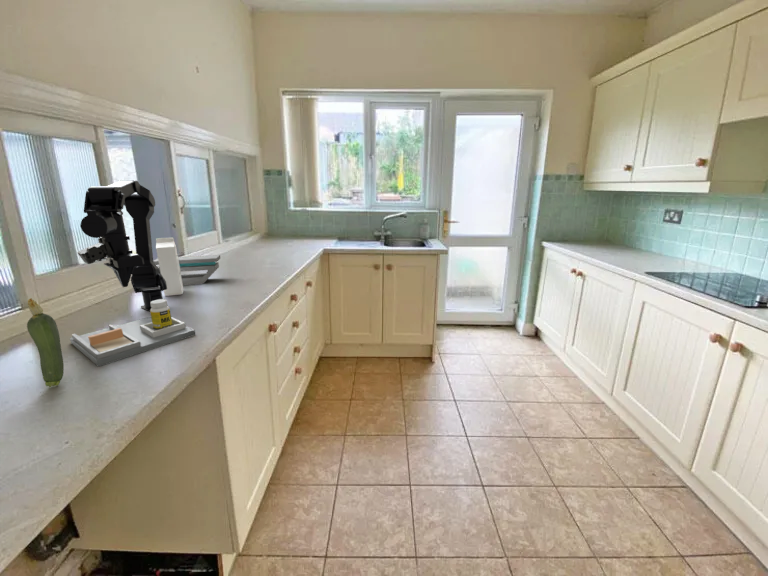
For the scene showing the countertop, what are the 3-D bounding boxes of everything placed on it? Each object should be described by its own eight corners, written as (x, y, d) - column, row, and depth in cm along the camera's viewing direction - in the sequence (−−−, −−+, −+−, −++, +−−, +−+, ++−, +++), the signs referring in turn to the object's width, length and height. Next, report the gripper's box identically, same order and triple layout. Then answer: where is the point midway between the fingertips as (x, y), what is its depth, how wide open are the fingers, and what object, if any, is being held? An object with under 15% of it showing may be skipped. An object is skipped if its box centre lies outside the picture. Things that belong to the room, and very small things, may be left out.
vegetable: (56, 379, 80) (31, 293, 74) (77, 378, 80) (54, 293, 75) (40, 390, 76) (12, 300, 70) (62, 389, 76) (36, 299, 70)
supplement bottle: (163, 332, 101) (158, 304, 99) (149, 331, 102) (144, 303, 100) (176, 326, 105) (171, 299, 103) (163, 325, 106) (158, 298, 104)
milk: (182, 294, 141) (173, 238, 135) (164, 296, 139) (154, 239, 133) (183, 290, 147) (174, 236, 140) (166, 292, 144) (156, 237, 138)
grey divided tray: (71, 343, 98) (68, 333, 97) (161, 318, 116) (159, 309, 115) (98, 366, 86) (95, 355, 85) (195, 334, 103) (193, 325, 102)
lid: (90, 347, 92) (88, 336, 91) (122, 338, 97) (120, 327, 97) (101, 355, 87) (98, 344, 87) (134, 345, 93) (131, 334, 92)
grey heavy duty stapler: (156, 286, 152) (151, 261, 149) (162, 281, 160) (158, 257, 157) (219, 282, 158) (216, 258, 155) (223, 278, 165) (220, 254, 162)
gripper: (66, 233, 99) (80, 287, 104) (88, 239, 89) (102, 299, 93) (114, 229, 108) (124, 279, 112) (139, 234, 97) (150, 289, 102)
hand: (125, 286), depth 105 cm, fingers closed
